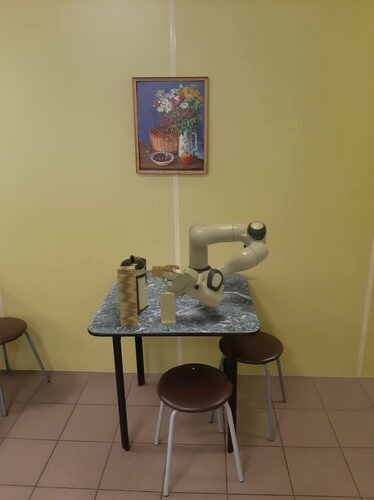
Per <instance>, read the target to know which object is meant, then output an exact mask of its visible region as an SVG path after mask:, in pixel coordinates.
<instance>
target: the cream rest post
mask: <svg viewBox="0 0 374 500" xmlns="http://www.w3.org/2000/svg"><path fill="white" fill-rule="evenodd" d="M159 300H160V321H161V326H163V325H164V326H165V325H176V324H177V320H176V312H177V311H176V310H177V309H176V295H175V291H171V292H167V291H161V292H160V299H159Z"/></svg>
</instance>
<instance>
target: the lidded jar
mask: <svg viewBox="0 0 374 500" xmlns="http://www.w3.org/2000/svg"><path fill="white" fill-rule="evenodd" d="M173 268H175V269H177V270H181V269H180V266H179V265H176V264H167V265H164V266H163V277H164V278H166V279H167V281H173V280H174V279H175V278H176V277H177V276H178V275H179V274H177V273H175V274H174V273H172V272H171V271H172V269H173Z"/></svg>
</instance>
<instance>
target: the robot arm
mask: <svg viewBox="0 0 374 500" xmlns="http://www.w3.org/2000/svg"><path fill="white" fill-rule="evenodd" d="M238 242H239V243H240V242H241V243H243V246H242V247H243V248H242V249H241V250H239V251H238V252H237V253H236V254H234V255H233V256H232V257H230V258H229V259H228V260H227V261H225V262H224V263H222V264H221V265H219V266H217V267H216V268H215V267H214V268H213V267H211V266H210V264H209V248H208V247H209V246H211V245H214V244H215V245H216V244H220V243H238ZM266 244H267V225H266V224H265V223H263V222H261V221H252V222H250V223H249V224H248V223H243V222H226V223H217V224H211V225H205V224H204V223H202V222H195V223H194V222H193V224H191V225H190V227H189V230H188V258H189V259H188V262H189V263H188V264H189V265H188V267H185V268H184V269H183V270H182V269H179V270H177V269H175V268H173V269H172V271H171V272H172V273H174V274H175V273H177V274H179V275H178V276H177V277H176V278H175V279H174V280H171V281H169V280H167V279H166V278H165V277H162V278H163V279H162V280H161V281H162V283H164V284H165V285H166V292H171V291H175V297H183V296H184V295H185V296H187V297H190V298H191V299H192V300H193V299H194V300H197V301H198V302H199V303H201V304H202V305H205V306H207V307H210V308H216V307H217V308H218V306H219V305H220V304H222V302H223V300H224V294H223V292H224V291H225V285H224V284H223V283H224V280H225V277H227V276H229V275H232V274H235V273H240V272H245V271H248V270H251V269H253V268H255V267H257V266H258V265H260V264H261V263H262V262H263V261H264V260H265V259H267V257H268V255H269V247H268V246H267V245H266Z"/></svg>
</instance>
